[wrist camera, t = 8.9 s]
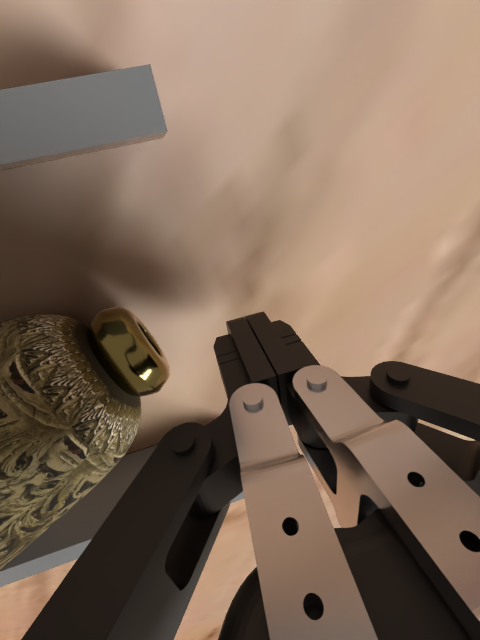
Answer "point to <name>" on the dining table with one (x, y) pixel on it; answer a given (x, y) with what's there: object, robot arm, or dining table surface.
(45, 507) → the cup
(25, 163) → the box
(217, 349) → the robot arm
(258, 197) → the dining table surface
